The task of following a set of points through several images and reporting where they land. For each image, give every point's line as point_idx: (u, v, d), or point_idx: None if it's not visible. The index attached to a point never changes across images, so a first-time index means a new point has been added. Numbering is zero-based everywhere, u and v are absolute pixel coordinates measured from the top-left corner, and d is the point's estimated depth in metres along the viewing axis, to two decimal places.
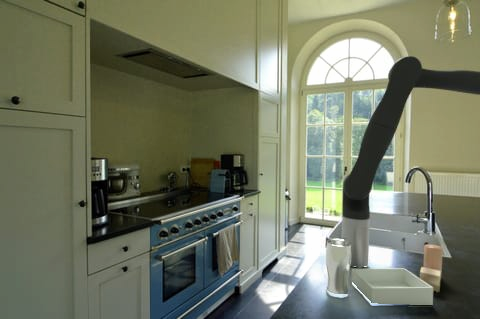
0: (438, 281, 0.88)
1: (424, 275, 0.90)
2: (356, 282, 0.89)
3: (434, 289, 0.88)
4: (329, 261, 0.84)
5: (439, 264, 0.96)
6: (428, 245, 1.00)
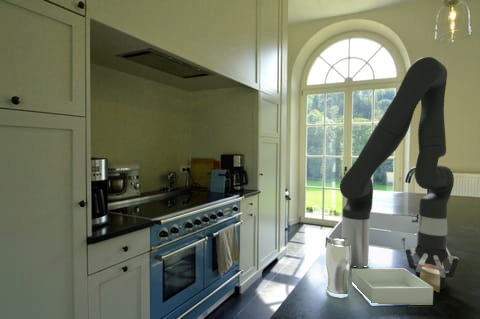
0: (438, 281, 0.88)
1: (424, 275, 0.90)
2: (356, 282, 0.89)
3: (434, 289, 0.88)
4: (329, 261, 0.84)
5: None
6: None
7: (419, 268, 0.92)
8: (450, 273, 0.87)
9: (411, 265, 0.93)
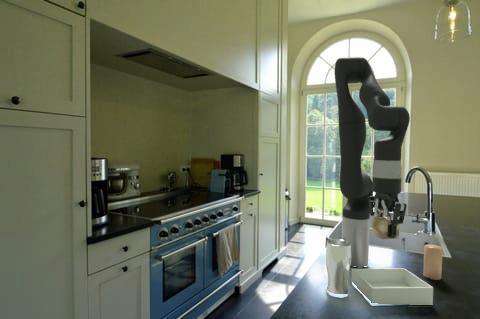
0: (382, 226, 0.83)
1: (374, 221, 0.86)
2: (356, 282, 0.89)
3: (380, 235, 0.84)
4: (329, 261, 0.84)
5: (439, 264, 0.96)
6: (428, 245, 1.00)
7: (375, 215, 0.88)
8: (393, 219, 0.80)
9: (371, 212, 0.90)
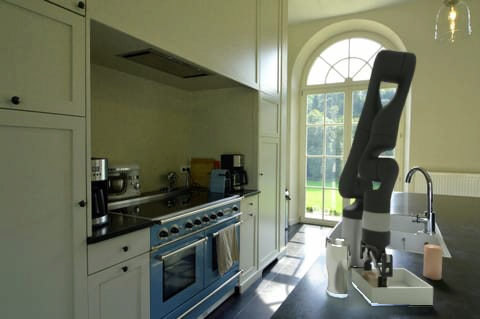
0: (370, 283, 0.83)
1: (364, 275, 0.87)
2: (356, 282, 0.89)
3: None
4: (329, 261, 0.84)
5: (439, 264, 0.96)
6: (428, 245, 1.00)
7: (363, 259, 0.90)
8: (382, 272, 0.79)
9: (360, 255, 0.92)
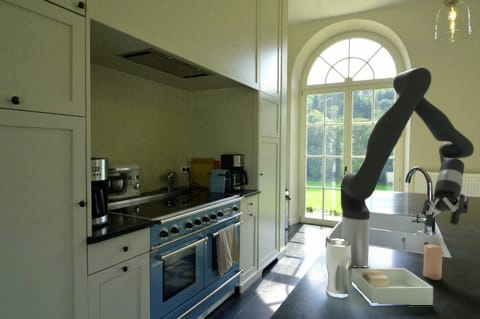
0: (370, 283, 0.83)
1: (364, 275, 0.87)
2: (356, 282, 0.89)
3: None
4: (329, 261, 0.84)
5: (439, 264, 0.96)
6: (428, 245, 1.00)
7: None
8: None
9: None
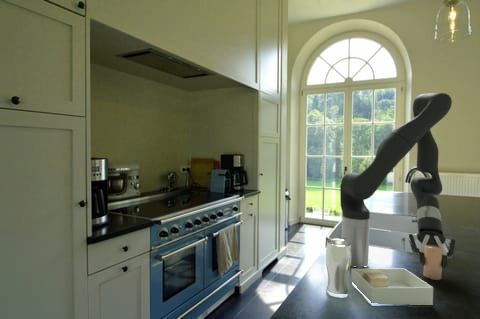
0: (370, 283, 0.83)
1: (364, 275, 0.87)
2: (356, 282, 0.89)
3: None
4: (329, 261, 0.84)
5: (439, 264, 0.96)
6: (428, 245, 1.00)
7: None
8: None
9: None
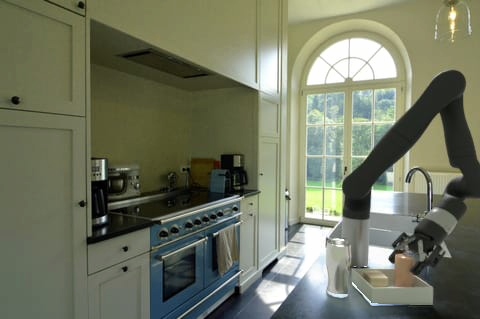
0: (370, 283, 0.83)
1: (364, 275, 0.87)
2: (356, 282, 0.89)
3: None
4: (329, 261, 0.84)
5: (402, 276, 0.84)
6: (404, 255, 0.87)
7: None
8: None
9: None
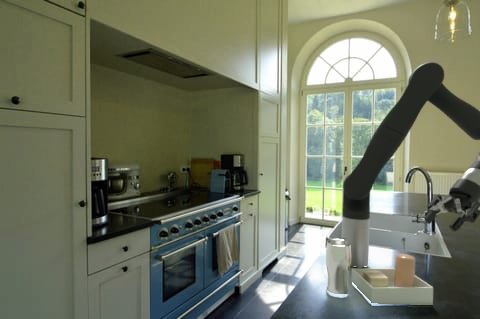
0: (370, 283, 0.83)
1: (364, 275, 0.87)
2: (356, 282, 0.89)
3: None
4: (329, 261, 0.84)
5: (402, 276, 0.84)
6: (404, 255, 0.87)
7: None
8: None
9: None
